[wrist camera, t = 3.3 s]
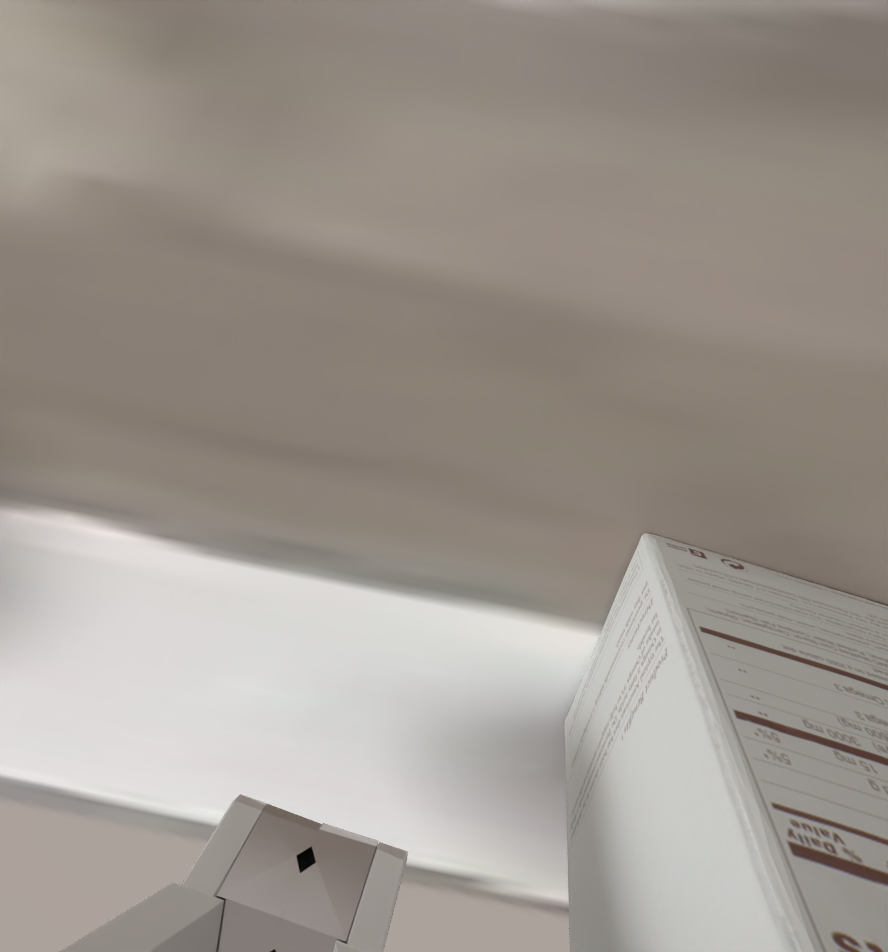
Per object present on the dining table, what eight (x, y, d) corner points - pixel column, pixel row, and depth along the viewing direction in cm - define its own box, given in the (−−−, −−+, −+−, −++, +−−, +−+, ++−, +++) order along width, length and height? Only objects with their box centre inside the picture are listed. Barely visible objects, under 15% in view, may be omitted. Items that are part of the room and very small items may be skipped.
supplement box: (787, 799, 19) (1160, 1663, 7) (558, 720, 20) (556, 1401, 8) (912, 604, 16) (1820, 1460, 5) (643, 519, 17) (837, 1087, 5)
